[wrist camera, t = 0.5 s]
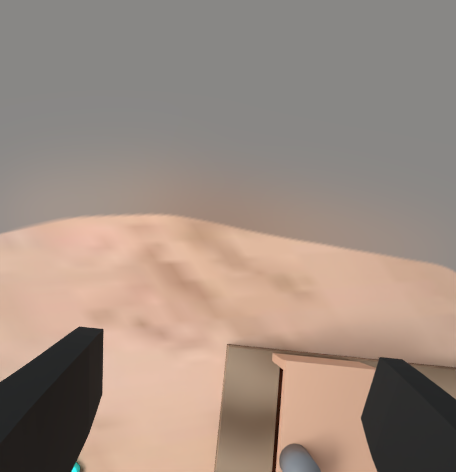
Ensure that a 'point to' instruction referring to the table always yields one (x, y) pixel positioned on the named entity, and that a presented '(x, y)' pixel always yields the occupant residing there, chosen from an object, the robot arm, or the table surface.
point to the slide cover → (323, 415)
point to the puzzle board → (270, 404)
